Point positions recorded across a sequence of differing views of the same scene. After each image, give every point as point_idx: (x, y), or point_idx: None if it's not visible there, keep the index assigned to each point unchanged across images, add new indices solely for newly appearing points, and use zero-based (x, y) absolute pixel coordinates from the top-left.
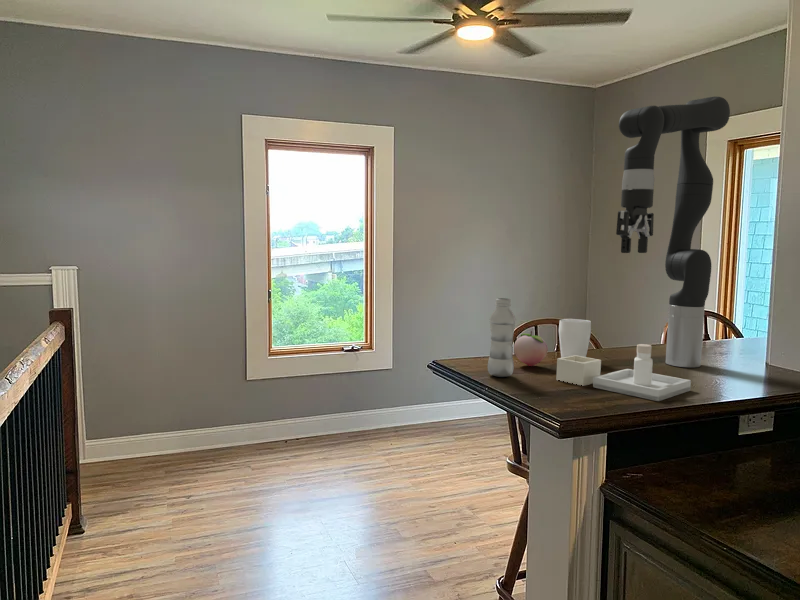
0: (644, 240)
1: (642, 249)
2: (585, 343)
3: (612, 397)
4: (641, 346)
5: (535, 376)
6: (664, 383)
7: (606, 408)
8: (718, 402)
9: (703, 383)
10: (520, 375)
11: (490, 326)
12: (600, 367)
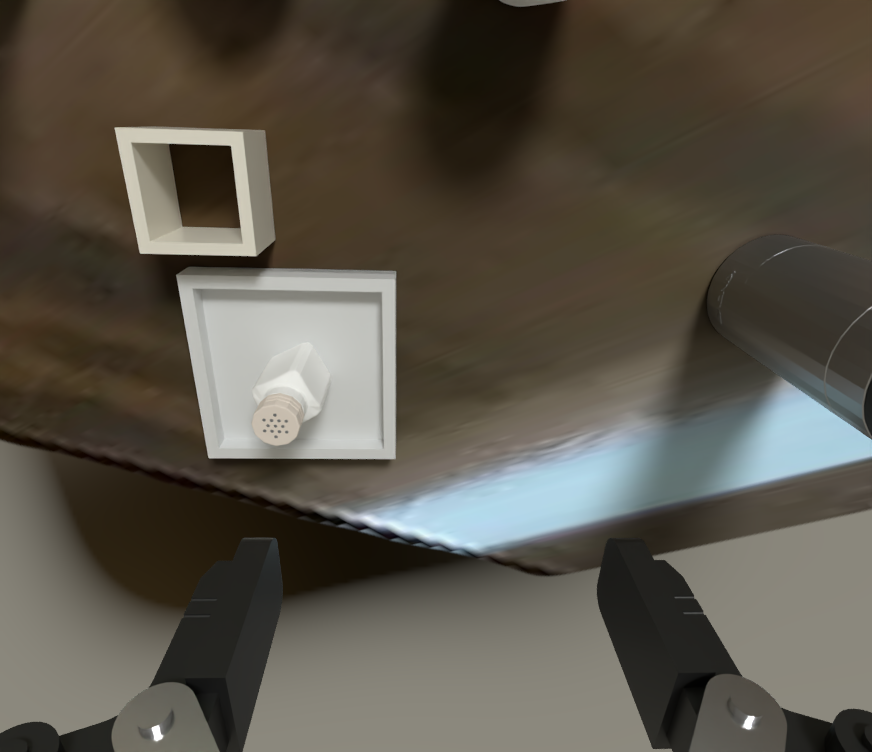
0: (649, 707)
1: (612, 598)
2: (526, 2)
3: (143, 359)
4: (252, 426)
5: (126, 27)
6: (370, 397)
7: (39, 400)
8: (336, 517)
9: (511, 432)
10: None
11: None
12: (262, 250)
